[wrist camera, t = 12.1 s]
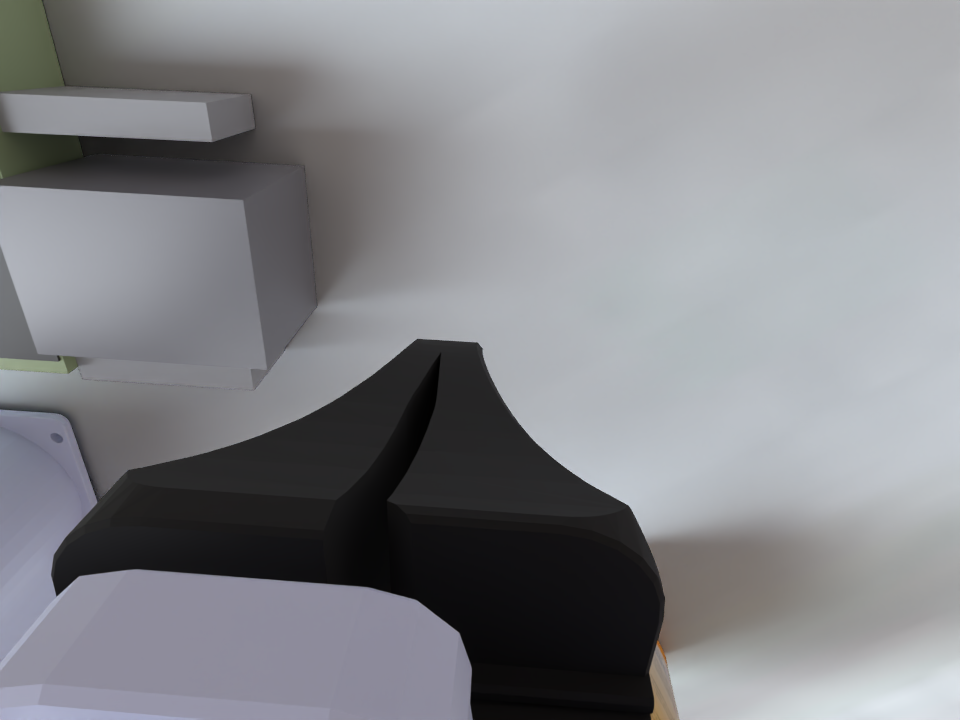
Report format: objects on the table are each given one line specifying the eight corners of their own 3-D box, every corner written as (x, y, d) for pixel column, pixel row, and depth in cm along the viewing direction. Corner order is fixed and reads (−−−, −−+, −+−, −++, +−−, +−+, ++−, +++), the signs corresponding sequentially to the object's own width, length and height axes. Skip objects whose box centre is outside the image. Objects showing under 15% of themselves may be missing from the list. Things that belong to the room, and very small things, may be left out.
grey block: (318, 304, 22) (267, 370, 18) (133, 292, 22) (38, 354, 18) (305, 165, 20) (243, 199, 15) (99, 153, 20) (-21, 184, 16)
